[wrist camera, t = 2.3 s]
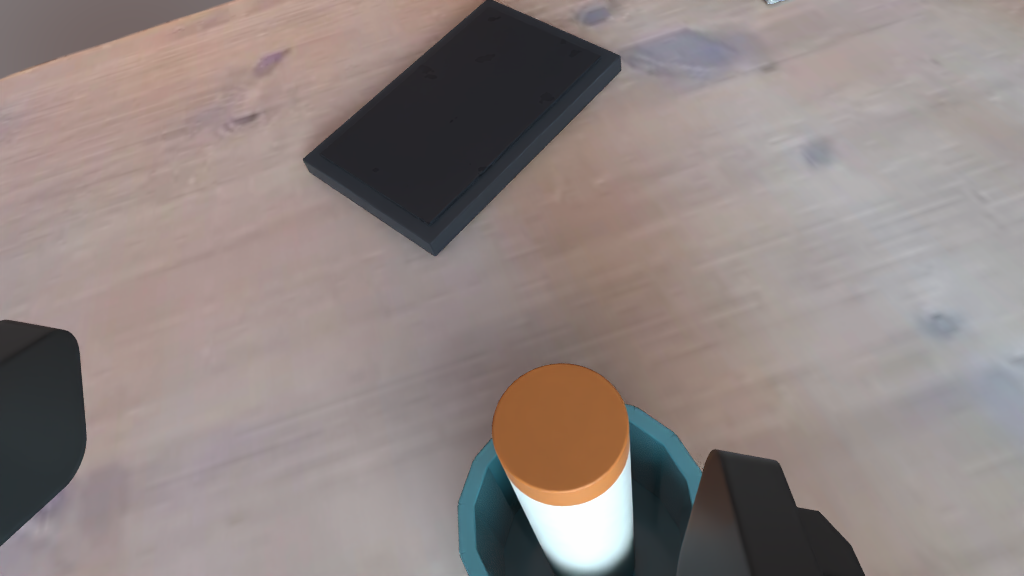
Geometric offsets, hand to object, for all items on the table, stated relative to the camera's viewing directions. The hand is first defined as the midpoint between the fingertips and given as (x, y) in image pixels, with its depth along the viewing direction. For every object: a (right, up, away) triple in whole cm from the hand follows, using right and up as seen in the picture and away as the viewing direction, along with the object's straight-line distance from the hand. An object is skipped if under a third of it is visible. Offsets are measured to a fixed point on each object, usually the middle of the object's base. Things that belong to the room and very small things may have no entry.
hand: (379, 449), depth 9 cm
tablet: (-1, +11, +29) cm, 30 cm away
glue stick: (+4, -7, +16) cm, 18 cm away
